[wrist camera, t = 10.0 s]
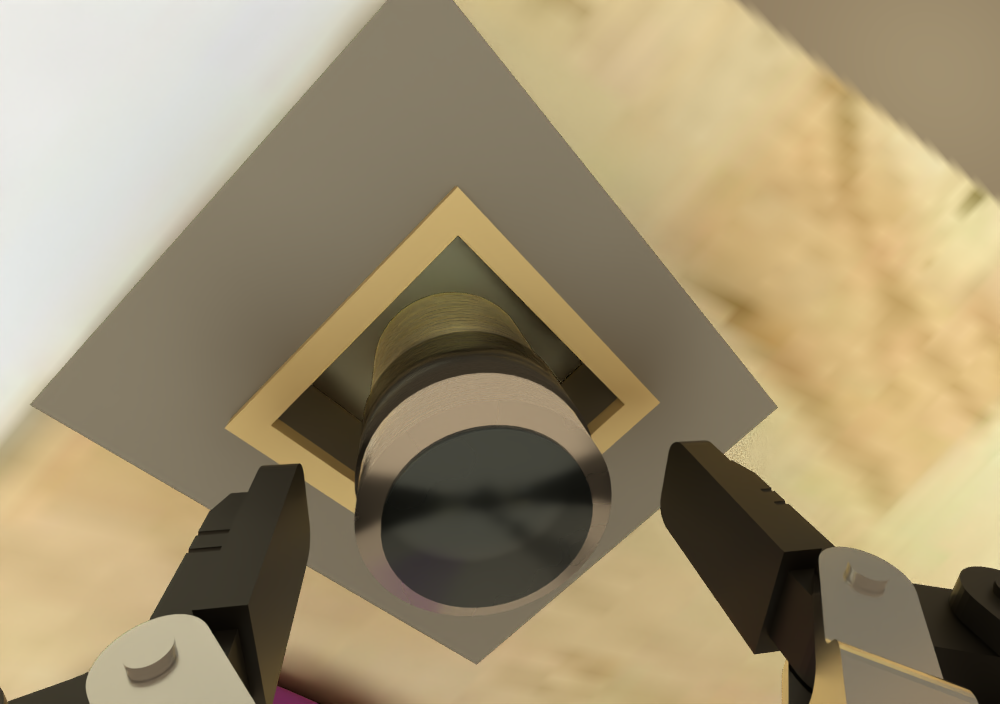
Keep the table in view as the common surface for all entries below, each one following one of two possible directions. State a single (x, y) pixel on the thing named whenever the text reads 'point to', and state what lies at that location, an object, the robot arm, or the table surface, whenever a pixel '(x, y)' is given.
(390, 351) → the lens
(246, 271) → the mount plate
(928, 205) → the table surface
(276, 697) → the toy camera
